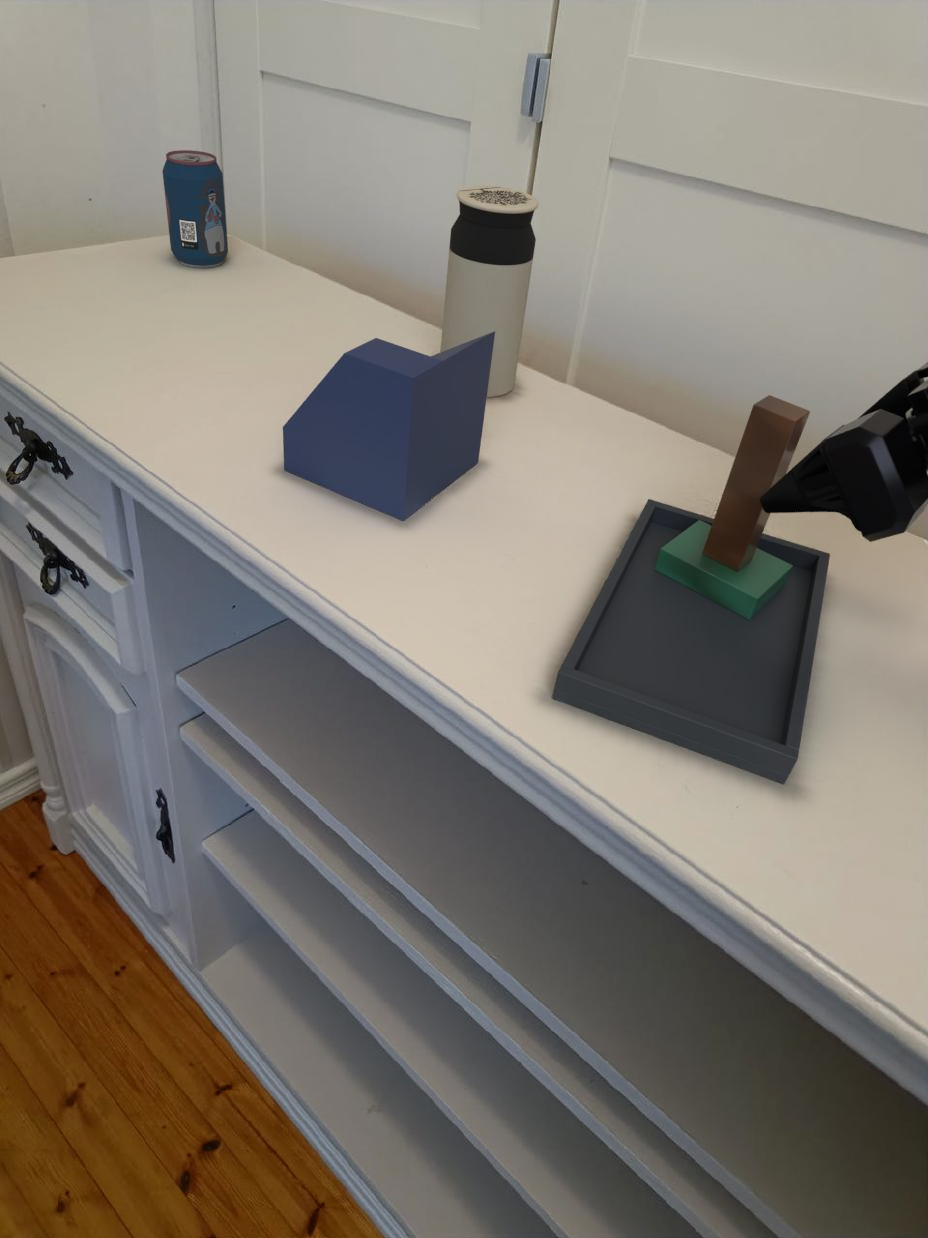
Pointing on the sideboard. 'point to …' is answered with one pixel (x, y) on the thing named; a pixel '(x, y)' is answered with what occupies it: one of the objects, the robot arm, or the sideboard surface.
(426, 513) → the sideboard surface
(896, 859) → the sideboard surface
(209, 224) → the soda can
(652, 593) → the tray
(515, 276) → the travel mug
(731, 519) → the brown post on base
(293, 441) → the phone stand
